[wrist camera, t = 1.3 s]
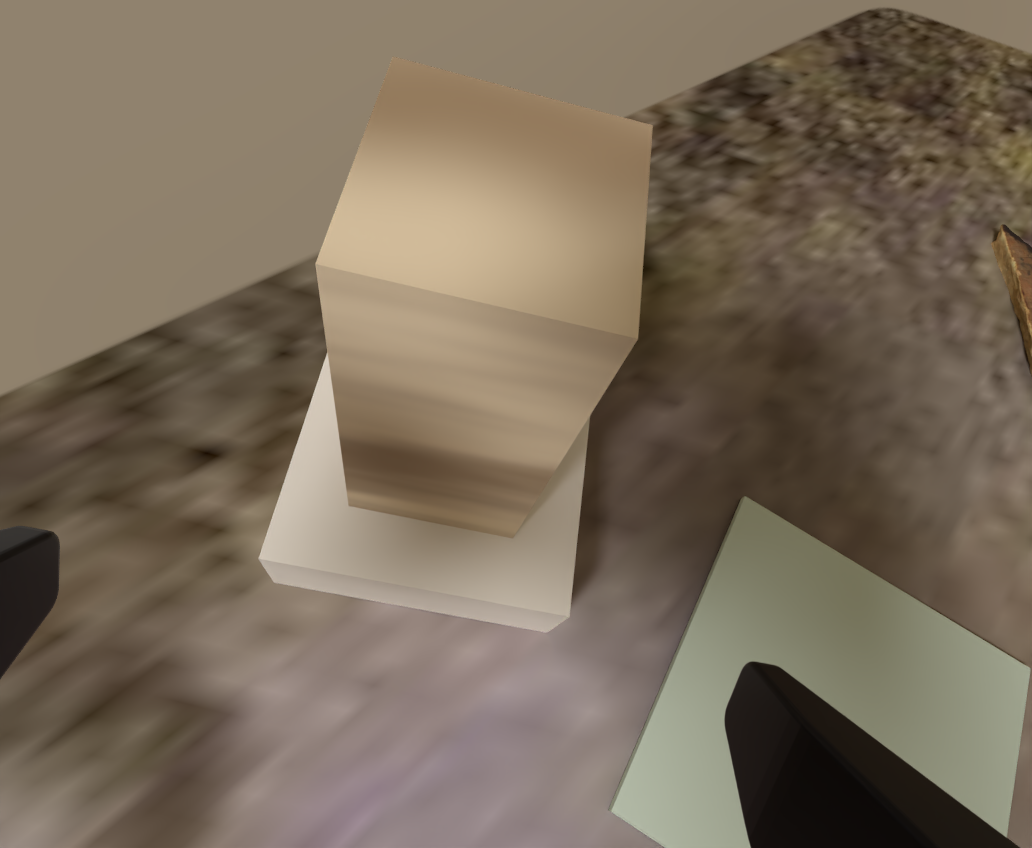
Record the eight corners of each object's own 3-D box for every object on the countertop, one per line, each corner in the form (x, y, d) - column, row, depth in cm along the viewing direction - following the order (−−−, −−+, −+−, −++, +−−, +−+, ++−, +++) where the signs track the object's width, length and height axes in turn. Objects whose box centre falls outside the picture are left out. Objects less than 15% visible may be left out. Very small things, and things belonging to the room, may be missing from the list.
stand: (546, 632, 22) (569, 616, 19) (274, 582, 21) (258, 558, 18) (573, 400, 26) (595, 361, 23) (347, 351, 25) (343, 304, 22)
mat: (967, 1048, 19) (976, 1052, 18) (608, 809, 20) (611, 810, 20) (1023, 669, 24) (1030, 668, 24) (741, 498, 25) (745, 496, 25)
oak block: (512, 538, 20) (638, 339, 10) (348, 506, 19) (315, 263, 10) (533, 397, 22) (652, 125, 12) (387, 365, 22) (392, 56, 12)
